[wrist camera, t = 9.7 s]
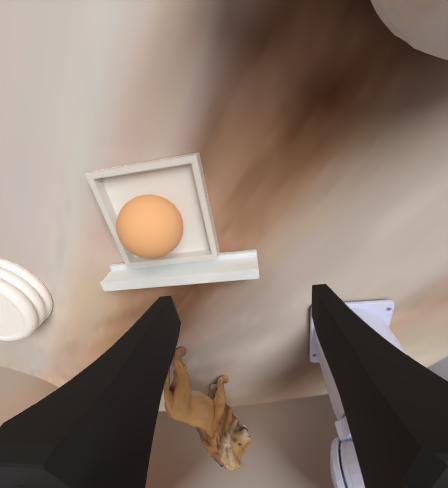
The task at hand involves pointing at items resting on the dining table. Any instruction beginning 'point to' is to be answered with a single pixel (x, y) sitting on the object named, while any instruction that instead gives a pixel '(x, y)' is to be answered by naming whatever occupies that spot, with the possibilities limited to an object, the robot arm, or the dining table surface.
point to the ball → (149, 226)
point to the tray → (169, 187)
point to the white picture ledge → (184, 272)
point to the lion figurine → (207, 415)
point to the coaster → (21, 302)
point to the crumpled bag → (417, 23)
